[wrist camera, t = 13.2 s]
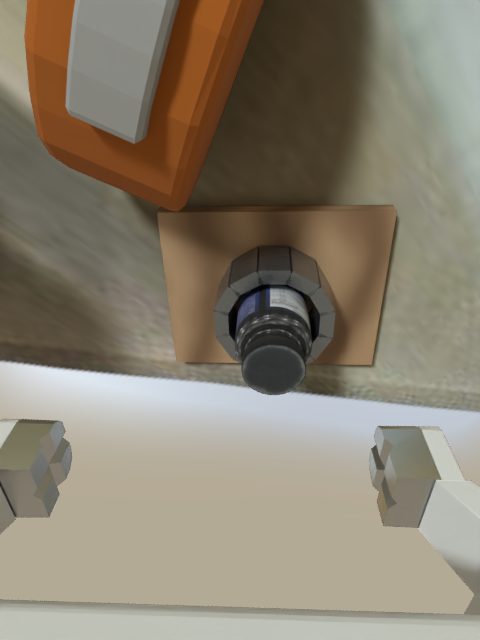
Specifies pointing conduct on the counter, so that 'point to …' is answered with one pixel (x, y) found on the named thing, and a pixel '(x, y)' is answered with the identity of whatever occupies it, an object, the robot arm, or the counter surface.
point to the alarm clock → (135, 86)
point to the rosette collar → (274, 269)
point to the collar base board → (277, 229)
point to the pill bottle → (273, 338)
